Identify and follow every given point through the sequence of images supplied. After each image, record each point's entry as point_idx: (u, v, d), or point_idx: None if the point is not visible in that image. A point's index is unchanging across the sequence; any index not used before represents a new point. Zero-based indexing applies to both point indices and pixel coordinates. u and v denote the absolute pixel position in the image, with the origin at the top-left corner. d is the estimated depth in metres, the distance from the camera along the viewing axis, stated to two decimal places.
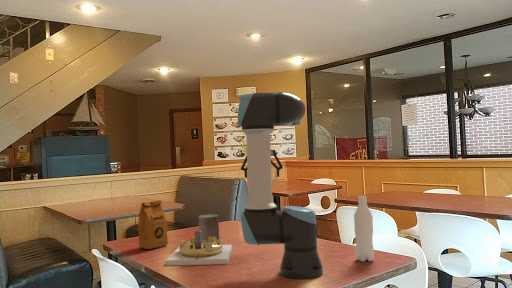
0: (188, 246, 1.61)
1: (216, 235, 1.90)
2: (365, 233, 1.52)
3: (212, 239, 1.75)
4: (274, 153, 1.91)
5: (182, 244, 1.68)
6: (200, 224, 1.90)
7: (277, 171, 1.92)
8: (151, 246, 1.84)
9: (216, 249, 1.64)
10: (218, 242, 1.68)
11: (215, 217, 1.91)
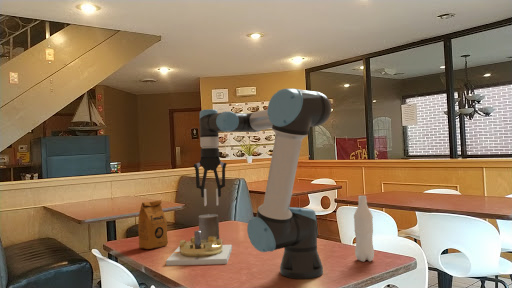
0: (188, 246, 1.61)
1: (216, 235, 1.90)
2: (365, 233, 1.52)
3: (212, 239, 1.75)
4: (224, 167, 1.62)
5: (182, 244, 1.68)
6: (200, 224, 1.90)
7: (218, 190, 1.62)
8: (151, 246, 1.84)
9: (216, 249, 1.64)
10: (218, 242, 1.68)
11: (215, 217, 1.91)
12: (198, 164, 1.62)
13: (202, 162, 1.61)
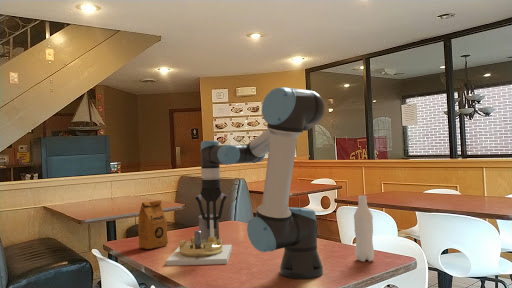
0: (188, 246, 1.61)
1: (216, 235, 1.90)
2: (365, 233, 1.52)
3: (212, 239, 1.75)
4: (223, 199, 1.61)
5: (182, 244, 1.68)
6: (200, 224, 1.90)
7: (214, 222, 1.61)
8: (151, 246, 1.84)
9: (216, 249, 1.64)
10: (218, 242, 1.68)
11: None
12: (199, 196, 1.61)
13: (203, 193, 1.61)
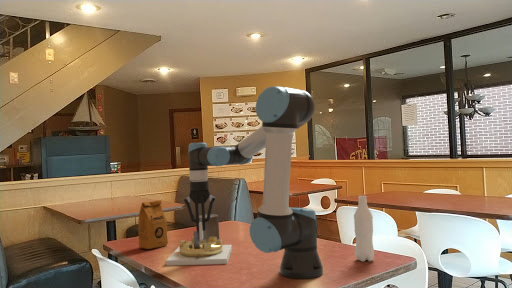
0: (187, 246, 1.62)
1: (216, 235, 1.90)
2: (365, 233, 1.52)
3: (213, 239, 1.74)
4: (212, 201, 1.61)
5: (182, 244, 1.68)
6: None
7: (203, 224, 1.61)
8: (151, 246, 1.84)
9: (215, 249, 1.63)
10: (218, 242, 1.67)
11: (215, 217, 1.91)
12: (188, 198, 1.61)
13: (191, 195, 1.61)
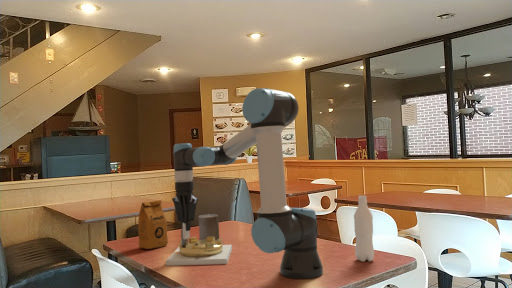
0: None
1: (216, 235, 1.90)
2: (365, 233, 1.52)
3: (217, 242, 1.69)
4: (191, 202, 1.60)
5: (190, 240, 1.75)
6: (200, 224, 1.90)
7: (186, 224, 1.63)
8: (151, 246, 1.84)
9: (196, 252, 1.60)
10: (206, 245, 1.62)
11: (215, 217, 1.91)
12: (176, 197, 1.66)
13: (177, 195, 1.65)
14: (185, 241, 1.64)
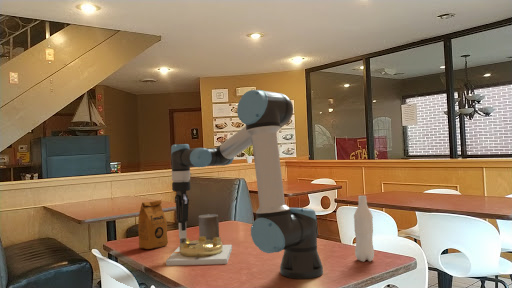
0: None
1: (216, 235, 1.90)
2: (365, 233, 1.52)
3: None
4: (182, 203, 1.61)
5: None
6: (200, 224, 1.90)
7: (181, 224, 1.65)
8: (151, 246, 1.84)
9: (186, 251, 1.62)
10: (195, 246, 1.62)
11: (215, 217, 1.91)
12: None
13: (177, 194, 1.69)
14: (182, 239, 1.68)
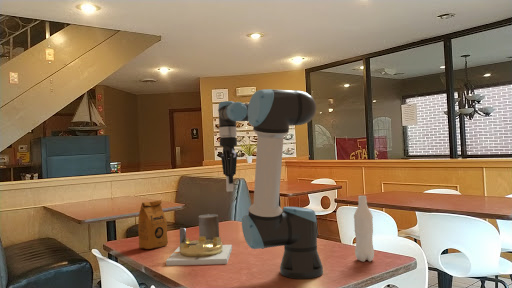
0: None
1: (216, 235, 1.90)
2: (365, 233, 1.52)
3: None
4: (231, 156, 1.69)
5: None
6: (200, 224, 1.90)
7: (229, 177, 1.73)
8: (151, 246, 1.84)
9: (186, 251, 1.62)
10: (195, 246, 1.62)
11: (215, 217, 1.91)
12: (223, 153, 1.78)
13: (223, 150, 1.76)
14: (182, 239, 1.68)
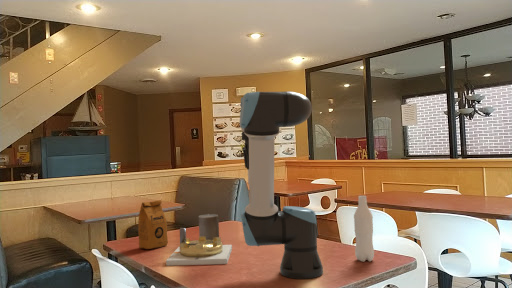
0: None
1: (216, 235, 1.90)
2: (365, 233, 1.52)
3: None
4: None
5: None
6: (200, 224, 1.90)
7: None
8: (151, 246, 1.84)
9: (186, 251, 1.62)
10: (195, 246, 1.62)
11: (215, 217, 1.91)
12: (245, 147, 1.83)
13: (245, 144, 1.81)
14: (182, 239, 1.68)
